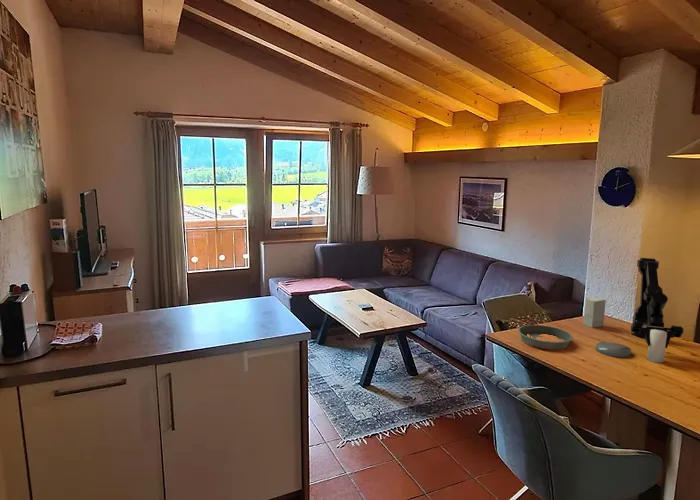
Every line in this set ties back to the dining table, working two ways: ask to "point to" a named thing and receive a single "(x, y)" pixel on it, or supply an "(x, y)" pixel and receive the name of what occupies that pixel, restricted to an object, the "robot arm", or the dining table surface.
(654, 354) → the white post
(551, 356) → the dining table surface
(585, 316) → the skincare box
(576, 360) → the dining table surface
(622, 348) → the slate plinth
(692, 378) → the dining table surface
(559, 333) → the cake pan
